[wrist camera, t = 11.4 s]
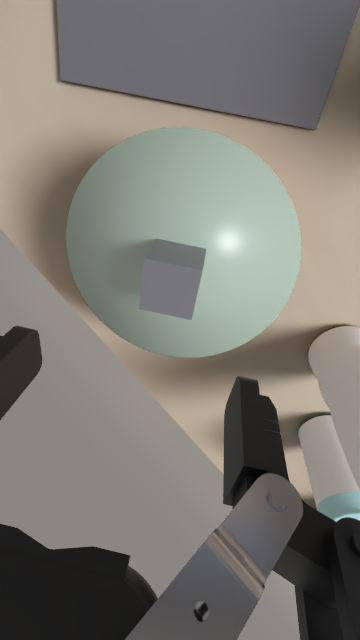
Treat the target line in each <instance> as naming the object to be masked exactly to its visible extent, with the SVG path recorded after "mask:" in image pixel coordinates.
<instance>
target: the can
mask: <svg viewBox="0 0 360 640" xmlns="http://www.w3.org/2000/svg"><path fill="white" fill-rule="evenodd" d="M298 435H299V439H300V443H301V447H302V451H303V455H304V459H305V463H306V467H307V471H308V475H309V479H310V484H311V488H312V492H313V496H314V500H315V504H316V508H317V511H319V512H321V513H322V514H324V515H326V516H327V517H329V518H331V519H333V520H334V521H336V522H337V521H338V520H340V519H341V518H345V517H350V518H355V519H357V520H359V521H360V490H359V488H358V486H357V484H356V481H355V479H354V477H353V474H352V472H351V470H350V467H349V465H348V462H347V460H346V457H345V454H344V452H343V449H342V447H341V444H340V441H339V438H338V436H337V433H336V430H335V427H334V424H333V420H332V417H331V415H322V416H317V417H314V418H312V419H310V420H308V421H307V422H305V423H304V424H303V425H302V426H301V427H300V429H299V433H298Z"/></svg>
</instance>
